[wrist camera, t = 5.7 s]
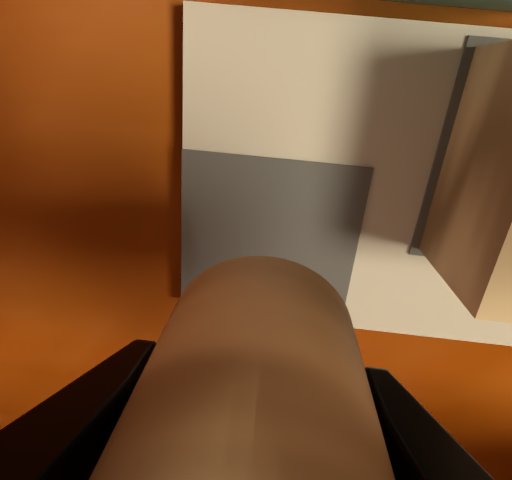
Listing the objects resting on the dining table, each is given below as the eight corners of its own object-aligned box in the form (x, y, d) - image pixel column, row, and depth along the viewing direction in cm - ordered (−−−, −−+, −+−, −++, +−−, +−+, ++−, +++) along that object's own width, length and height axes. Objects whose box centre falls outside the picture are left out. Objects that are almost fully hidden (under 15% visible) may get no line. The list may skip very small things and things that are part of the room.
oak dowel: (335, 414, 9) (414, 941, 3) (172, 393, 9) (-2, 868, 4) (370, 267, 7) (617, 806, 2) (172, 244, 8) (-140, 684, 2)
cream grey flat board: (601, 346, 14) (616, 359, 13) (185, 300, 15) (181, 309, 14) (766, 54, 10) (799, 52, 10) (188, 4, 11) (182, -1, 10)
